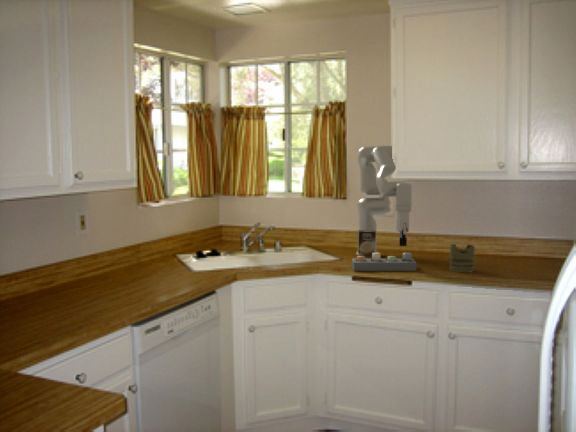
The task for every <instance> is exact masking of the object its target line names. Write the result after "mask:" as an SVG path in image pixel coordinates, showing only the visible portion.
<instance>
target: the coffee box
mask: <svg viewBox="0 0 576 432" xmlns="http://www.w3.org/2000/svg"><path fill="white" fill-rule="evenodd" d="M357 232H358V235H357V236H358V237H357V238H358V239H357V252H358V255H357V256H365V258H372V253H375V246H376V247H377V230H376V231H373V230H359V229H358V231H357Z"/></svg>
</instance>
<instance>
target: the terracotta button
mask: <svg viewBox="0 0 576 432" xmlns="http://www.w3.org/2000/svg"><path fill="white" fill-rule="evenodd" d="M356 258H357V261H365V256H358V255H357V256H356Z"/></svg>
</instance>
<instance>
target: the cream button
mask: <svg viewBox="0 0 576 432" xmlns="http://www.w3.org/2000/svg"><path fill="white" fill-rule="evenodd" d="M381 254H382V253H381V252H379V253H372V261H380V260H381V256H382V255H381Z"/></svg>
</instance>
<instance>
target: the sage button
mask: <svg viewBox="0 0 576 432" xmlns="http://www.w3.org/2000/svg"><path fill="white" fill-rule="evenodd" d="M387 258H388V261H396V258H397V257H396V256H395V255H388V256H387Z"/></svg>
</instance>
